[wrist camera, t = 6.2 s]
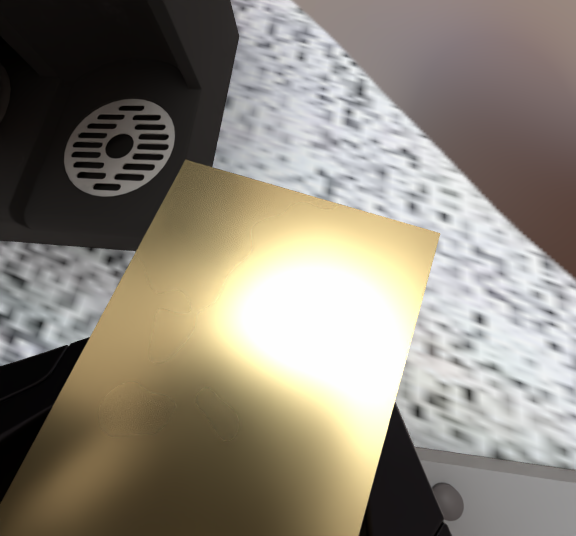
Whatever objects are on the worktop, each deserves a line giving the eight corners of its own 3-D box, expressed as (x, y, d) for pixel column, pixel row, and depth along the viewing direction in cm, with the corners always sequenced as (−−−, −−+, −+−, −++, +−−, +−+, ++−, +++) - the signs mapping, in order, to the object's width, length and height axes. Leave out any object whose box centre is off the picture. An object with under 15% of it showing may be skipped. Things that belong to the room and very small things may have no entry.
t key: (304, 457, 13) (238, 976, 2) (231, 423, 13) (-98, 685, 3) (347, 325, 14) (439, 233, 3) (280, 299, 15) (185, 159, 4)
